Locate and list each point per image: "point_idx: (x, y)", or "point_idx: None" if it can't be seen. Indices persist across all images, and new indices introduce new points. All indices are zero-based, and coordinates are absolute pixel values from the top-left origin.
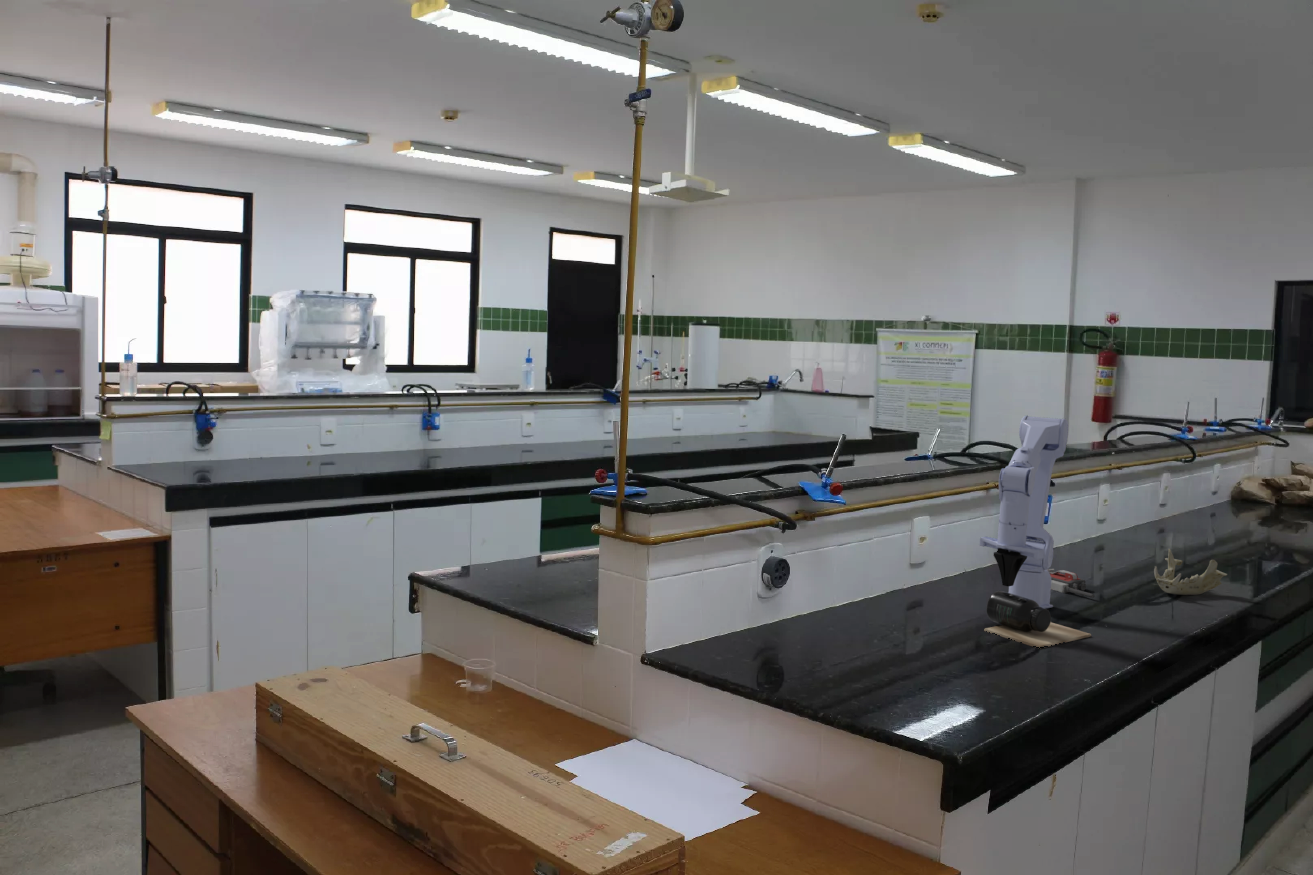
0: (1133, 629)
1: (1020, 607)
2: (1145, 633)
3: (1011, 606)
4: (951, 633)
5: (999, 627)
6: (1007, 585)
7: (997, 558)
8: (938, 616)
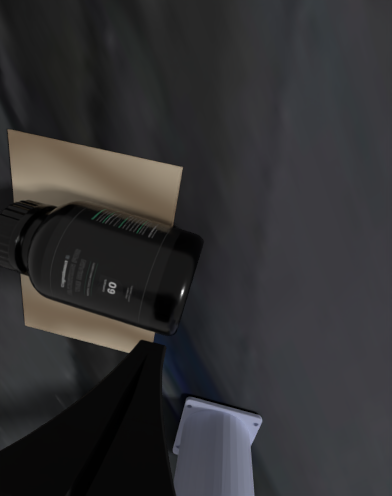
0: (26, 408)
1: (54, 219)
2: (4, 399)
3: (92, 224)
4: (240, 34)
5: (160, 215)
6: (139, 341)
7: (146, 484)
8: (349, 204)
